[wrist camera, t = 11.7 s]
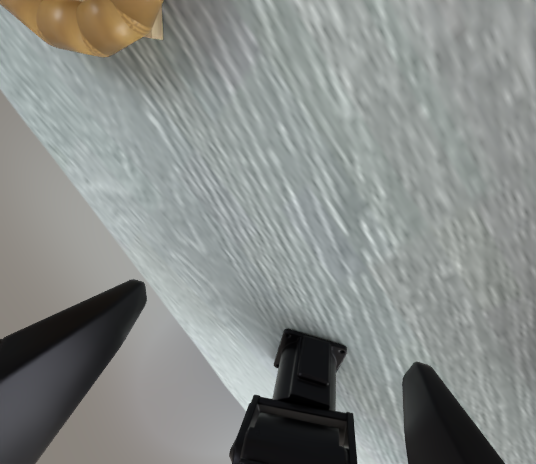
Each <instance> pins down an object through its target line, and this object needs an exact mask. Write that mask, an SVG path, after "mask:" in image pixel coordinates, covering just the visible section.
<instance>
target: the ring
mask: <svg viewBox="0 0 536 464" xmlns="http://www.w3.org/2000/svg"><path fill="white" fill-rule="evenodd" d="M163 1H164V0H84V1H83V2H81V1H76V0H0V4H1V5H2V6H3V7H4V8H5V9H7V10H8V11H9V12H10V13H11V14H13V15H14V16H15V17H16V18H17V19H19V20H20V21H21V22H22V23H23V24H24V25H26V26H27V27H28V28H29V29H30V30H32V31H33V32H34V33H35V34H36V35H38V36H39V37H40V38H41V39H42V40H44V41H45V42H46V43H48V44H50V45H51V46H54V47H56V48H60V49H65V50H69V51H74V52H79V53H83V54H88V55H93V56H98V57H109V56H112V55H114V54H115V53H117V52H119V51H120V50H122V49H124V48H125V47H127V46H129V45H130V44H132V43H134V42H135V41H137V40H139V39H140V38H142V37H144V36H145V35H147V34H148V33H149V32H150V31H151V29H152V27H153V25H154V23H155V20H156V18H157V15H158V13H159V10H160V8H161V6H162V3H163Z"/></svg>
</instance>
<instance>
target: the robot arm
mask: <svg viewBox="0 0 536 464" xmlns="http://www.w3.org/2000/svg"><path fill="white" fill-rule="evenodd" d="M146 301H147V296H146V288H145V284H144V282H142V281H138V280H134V279H133V280H129V281H127V282H125V283H122V284H120V285H118V286H116V287H114V288H112V289H109V290H107V291H105V292H103V293H101V294H99V295H96V296H94V297H92V298H90V299H88V300H85V301H83V302H81V303H79V304H77V305H74V306H72V307H70V308H68V309H66V310H63V311H61V312H59V313H57V314H54V315H52V316H50V317H48V318H46V319H44V320H41V321H39V322H37V323H35V324H32V325H30V326H28V327H26V328H24V329H21V330H19V331H17V332H15V333H13V334H11V335H8V336H6V337H4V338H3V339H0V464H35V463H36V462H37V461H38V459H39V458H40V457H41V455H42V454H43V453H44V451H45V450H46V448H47V447H48V446H49V444H50V443H51V442H52V440H53V439H54V437H55V436H56V435H57V433H58V432H59V430H60V429H61V428H62V426H63V425H64V423H65V422H66V421H67V420H68V418H69V417H70V415H71V414H72V413H73V411H74V410H75V409H76V407H77V406H78V404H79V403H80V402H81V400H82V399H83V398H84V396H85V395H86V394H87V392H88V391H89V389H90V388H91V387H92V385H93V384H94V382H95V381H96V380H97V378H98V377H99V375H100V374H101V373H102V371H103V370H104V369H105V368H106V366H107V365H108V363H109V362H110V361H111V359H112V358H113V357H114V355H115V354H116V352H117V351H118V350H119V348H120V347H121V345H122V344H123V342H124V340H125V339H126V337H127V335H128V334H129V332H130V330H131V329H132V327H133V325H134V323H135V322H136V320H137V318H138V317H139V315H140V313H141V311H142V310H143V308H144V306H145V304H146ZM346 354H347V347H346V346H344V345H341V344H337V343H334V342H331V341H327V340H324V339H321V338H317V337H314V336H311V335H307V334H304V333H301V332H297V331H294V330H290V329H286V330H284V333H283V336H282V339H281V342H280V345H279V349H278V352H277V355H276V358H275V362H274V366H275V367H276V368H279V369H278V374H277V379H276V384H275V389H274V394H273V399H269V398H264V397H260V396H259V395H254V396H253V399H252V402H251V403H250V404H249V406H248V409H247V411H246V414H245V417H244V420H243V422H242V425H241V428H240V430H239V433H238V436H237V438H236V440H235V442H234V443H233V445H232V447H231V449H230V454H229V457H230V459H231V461H232V464H357V454H356V442H355V430H354V418H353V413H349V412H346V413H342V412H337V411H335V401H336V372H337V370H338V369H339V367H340V365H341V363H342V361H343V360H344V358H345V356H346ZM402 386H403V411H404V433H405V443H406V450H407V457H408V464H505V463H504V462H503V460H502V459H501V458H500V456H499V455H498V454H497V452H496V451H495V450H494V449H493V447H492V446H491V445H490V443H489V442H488V441H487V439H486V438H485V437H484V435H483V434H482V433H481V431H480V430H479V429H478V427H477V426H476V425H475V423H474V422H473V421H472V420H471V418H470V417H469V416H468V414H467V413H466V412H465V410H464V409H463V408H462V406H461V405H460V404H459V402H458V401H457V400H456V398H455V397H454V396H453V395H452V393H451V392H450V391H449V389H448V388H447V387H446V385H445V384H444V383H443V381H442V380H441V379H440V377H439V376H438V375H437V373H436V372H435V371H434V369H433V368H432V367H431V366H429V365H427V364H423V363H420V362H415V363H413V365H412V366H411V367H410V369H409V370H408V371H407V372H406V374H405V375H404V377H403V382H402ZM339 445H340V446H339Z"/></svg>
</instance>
